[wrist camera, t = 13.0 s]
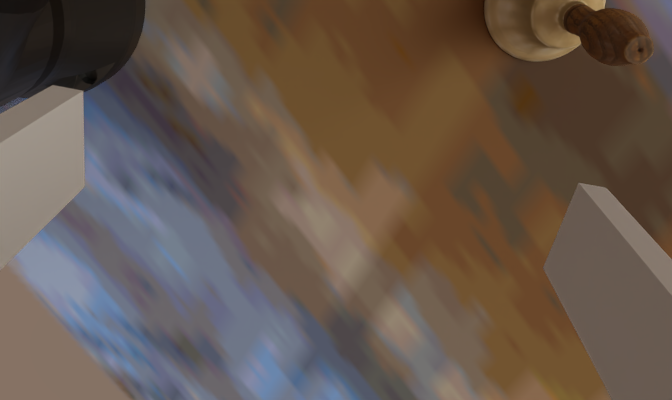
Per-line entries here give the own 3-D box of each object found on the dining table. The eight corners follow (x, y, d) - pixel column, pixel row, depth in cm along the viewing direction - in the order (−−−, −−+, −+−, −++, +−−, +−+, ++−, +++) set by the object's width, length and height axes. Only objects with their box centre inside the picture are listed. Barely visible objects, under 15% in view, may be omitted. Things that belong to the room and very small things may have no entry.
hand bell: (549, 82, 42) (644, 166, 28) (459, 20, 40) (512, 74, 26) (631, -18, 39) (788, 17, 25) (538, -91, 37) (647, -98, 23)
